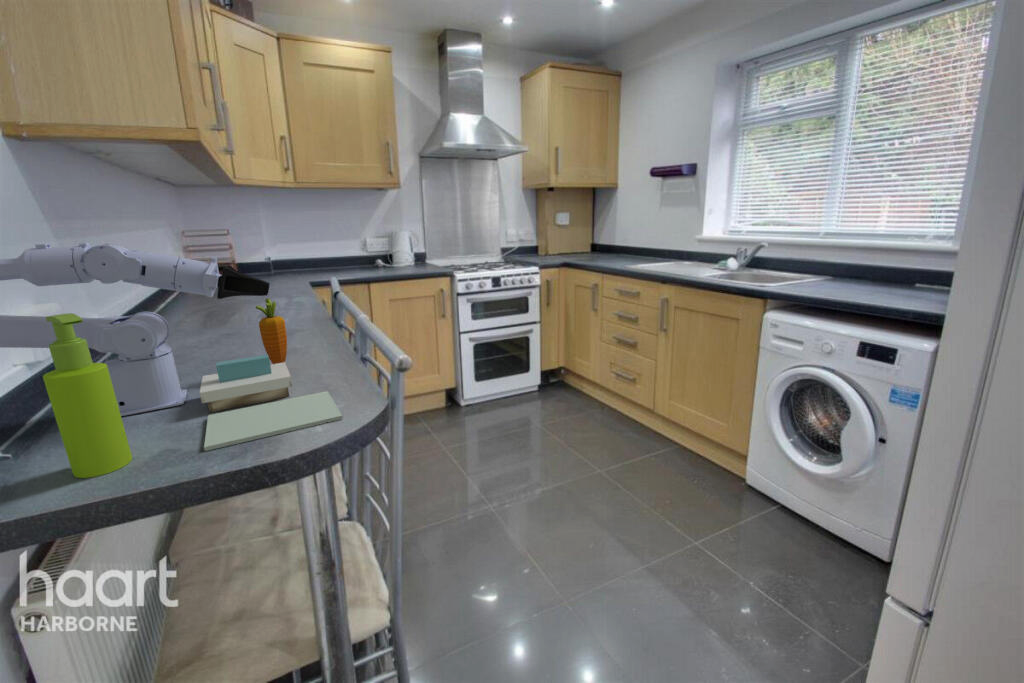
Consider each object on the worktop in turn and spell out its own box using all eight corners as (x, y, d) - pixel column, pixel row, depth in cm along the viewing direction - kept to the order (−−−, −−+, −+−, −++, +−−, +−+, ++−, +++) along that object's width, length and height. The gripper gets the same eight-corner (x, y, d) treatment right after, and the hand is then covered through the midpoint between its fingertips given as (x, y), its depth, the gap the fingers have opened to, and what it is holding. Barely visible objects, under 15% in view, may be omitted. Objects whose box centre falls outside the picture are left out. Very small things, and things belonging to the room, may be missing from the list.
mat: (204, 451, 64) (204, 447, 63) (208, 418, 74) (208, 415, 74) (342, 419, 72) (342, 415, 72) (328, 394, 83) (327, 391, 83)
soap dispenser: (86, 485, 56) (36, 322, 51) (66, 471, 60) (17, 317, 55) (143, 463, 61) (103, 312, 56) (121, 451, 65) (81, 308, 60)
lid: (201, 403, 76) (195, 375, 74) (204, 385, 84) (199, 359, 83) (292, 386, 82) (287, 359, 81) (286, 371, 91) (282, 347, 89)
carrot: (286, 373, 96) (273, 301, 92) (262, 374, 96) (248, 301, 92) (297, 366, 101) (286, 296, 97) (274, 366, 101) (262, 297, 97)
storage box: (209, 412, 77) (205, 395, 76) (211, 396, 85) (208, 380, 84) (289, 396, 83) (286, 380, 82) (284, 382, 90) (282, 367, 90)
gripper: (173, 248, 73) (271, 266, 79) (189, 252, 86) (272, 267, 92) (167, 293, 73) (264, 307, 79) (183, 291, 86) (266, 303, 92)
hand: (268, 289), depth 85 cm, fingers open, 7 cm apart
